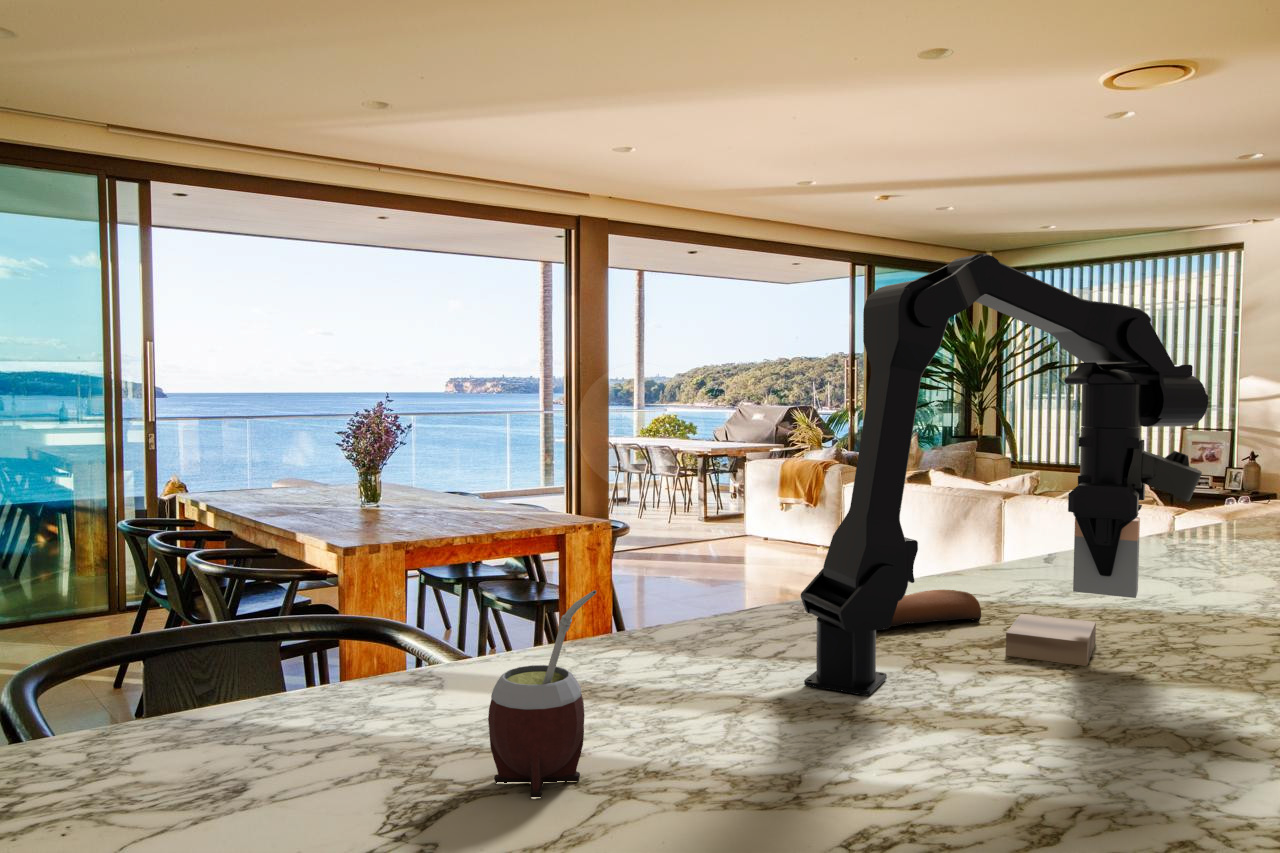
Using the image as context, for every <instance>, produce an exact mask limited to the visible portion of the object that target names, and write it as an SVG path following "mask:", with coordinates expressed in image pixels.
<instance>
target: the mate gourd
mask: <svg viewBox="0 0 1280 853" xmlns="http://www.w3.org/2000/svg"><path fill="white" fill-rule="evenodd" d="M596 594H597V590H596V589H595V590H592V591H591V592H589V593H587V594H586V595H584V596H582V597H581V598H579V600H577V601H575V602H574V603H573V604H572V605H570V607H569V608H568V610H567V611H566V612H565V614H563V615H562V616H561V618H560V620H559V623H558V626H557V629H558V630H557V635H556V639H555V643H554V645H553V649H552V653H551V656H550V658H549V659H550V660H549V662H548V665H547V664H535V665H534V664H532V665H525V666H524V665H523V666H517V667H515V668H511V669H509V670H507V671H506V672H504V673H502V674H501V675H500V677H499V678H498V680H497V681H496V683H495V685H494V687H493V688H492V691H491V698H490V703H489V709H488V732H489V733H488V734H489V743H490V751H491V754H492V757H493V761H494V764H495V767H496V771H497V774H494V776H493V779H494V783H495V782H496V783H497V782H504V783H507V782H531V785H530V789H529V794H530V796H529V798H530V797H541V795H542V796H543V787H542V785H543V786H544V784H543V782H557V781H565V782H567V781H579V782H580V777H581V772H579V771H577V770H578V769H577V768H578V765H579V761H580V758H581V754H582V750H583V746H584V737H585V736H584V735H585V705H584V698H583V694H582V688H581V685H580V683H579V682H578V680H577V679H576V677H575V676H574V675H573V673H572V672H571V671H569V670H568V669H567V668H564V667H562V666H561V667H560V666H557V664H558V662H559V661H558V660H559V657H560V655H561V654H560V653H561V650H562V647H563V644H564V641H565V638H566V637H565V636H566V635H567V634H566V633H567V632H568V631H569V630H570V627H571V624H572V621H573V619H572V618H573V616H574V615H575V614H576V612H577V611H579V609H580V608H581V607H583V605H584V604H586V603H587V602H588V601H589V600H591V598H592V597H594V596H595V595H596ZM541 798H542V797H541Z"/></svg>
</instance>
